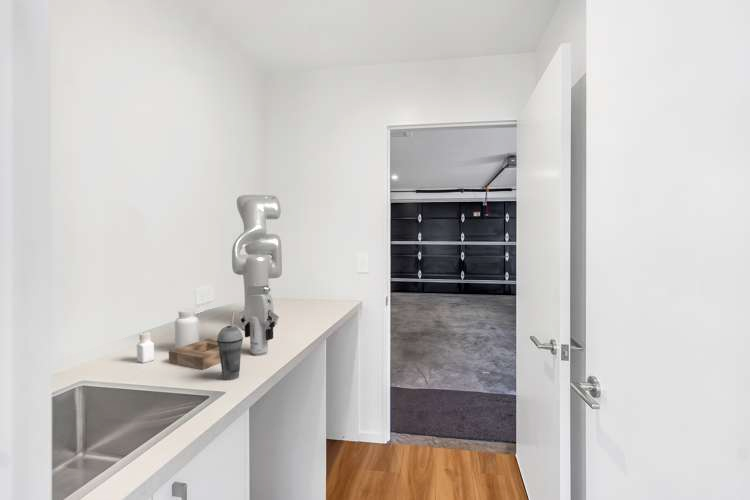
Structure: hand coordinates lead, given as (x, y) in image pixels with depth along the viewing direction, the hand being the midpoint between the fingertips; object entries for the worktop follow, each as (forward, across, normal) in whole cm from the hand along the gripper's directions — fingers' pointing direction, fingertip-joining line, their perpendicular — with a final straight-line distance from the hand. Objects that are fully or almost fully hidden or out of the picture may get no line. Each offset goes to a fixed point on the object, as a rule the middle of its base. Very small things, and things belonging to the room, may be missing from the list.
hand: (259, 337), depth 136 cm
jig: (+6, +13, +12) cm, 19 cm away
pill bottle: (+6, +27, +8) cm, 29 cm away
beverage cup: (+6, -8, +21) cm, 23 cm away
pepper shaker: (+6, +30, +22) cm, 38 cm away
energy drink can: (+6, 0, 0) cm, 6 cm away
